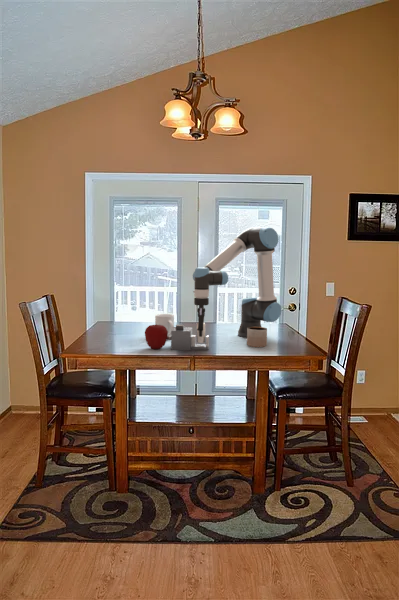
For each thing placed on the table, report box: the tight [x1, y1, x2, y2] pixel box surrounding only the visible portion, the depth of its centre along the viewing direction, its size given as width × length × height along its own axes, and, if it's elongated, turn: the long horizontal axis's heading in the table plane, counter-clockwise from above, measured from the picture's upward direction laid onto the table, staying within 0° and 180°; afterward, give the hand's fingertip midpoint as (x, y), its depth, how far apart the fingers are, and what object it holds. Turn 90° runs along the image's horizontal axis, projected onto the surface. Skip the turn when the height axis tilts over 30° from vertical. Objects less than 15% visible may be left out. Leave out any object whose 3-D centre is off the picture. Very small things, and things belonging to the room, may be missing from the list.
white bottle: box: [196, 322, 206, 344], centre depth 251 cm, size 4×4×12 cm
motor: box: [166, 324, 210, 351], centre depth 251 cm, size 22×12×12 cm, turn 87°
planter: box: [246, 326, 268, 348], centre depth 260 cm, size 11×11×10 cm
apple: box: [144, 324, 168, 350], centre depth 248 cm, size 12×12×13 cm
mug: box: [154, 313, 175, 336], centre depth 278 cm, size 15×11×13 cm
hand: (200, 341), depth 251 cm, fingers closed on white bottle, 4 cm apart
